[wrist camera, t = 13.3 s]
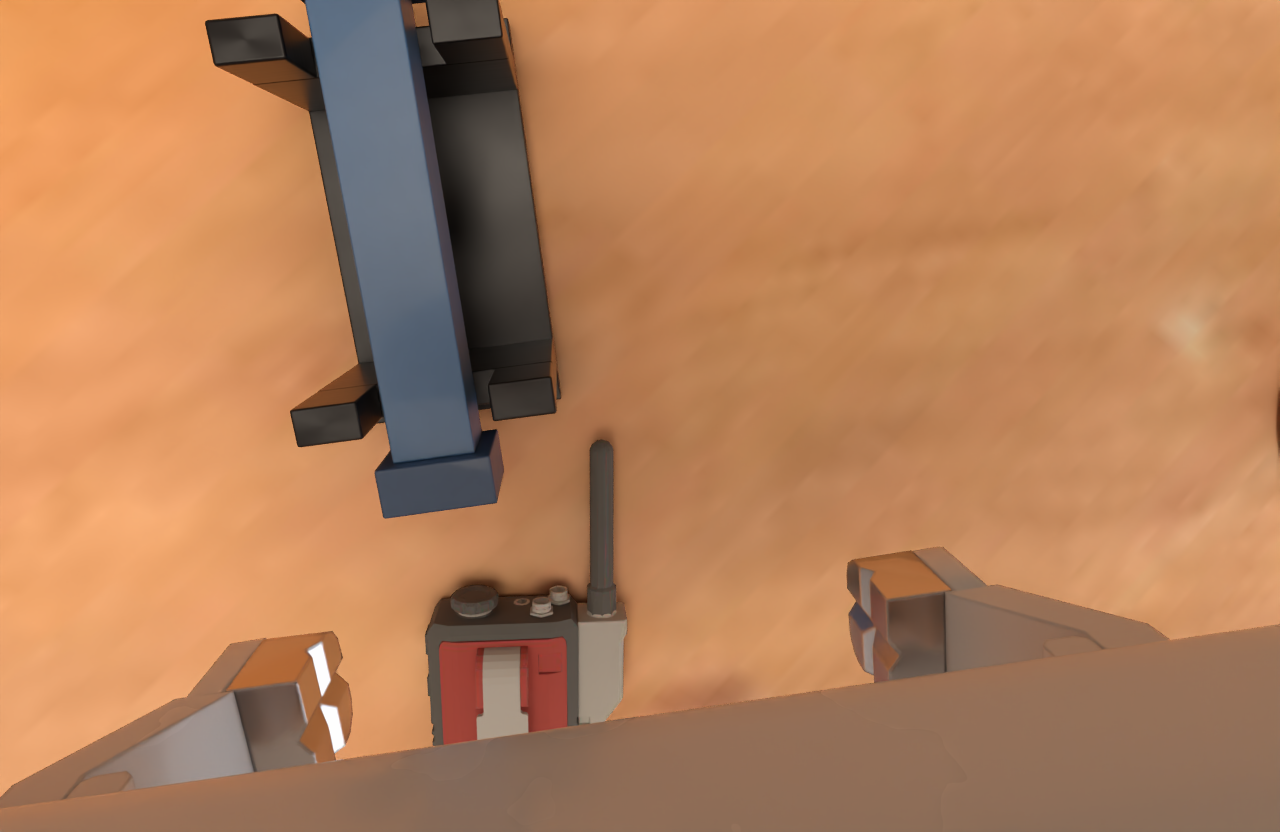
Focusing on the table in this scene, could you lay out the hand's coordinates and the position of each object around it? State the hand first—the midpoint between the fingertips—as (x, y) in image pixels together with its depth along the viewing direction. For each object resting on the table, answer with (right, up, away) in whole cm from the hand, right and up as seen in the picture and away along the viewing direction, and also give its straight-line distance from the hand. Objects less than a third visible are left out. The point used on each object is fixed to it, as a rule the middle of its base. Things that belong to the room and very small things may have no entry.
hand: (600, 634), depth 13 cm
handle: (-7, +10, +15) cm, 19 cm away
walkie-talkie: (-5, -7, +26) cm, 27 cm away
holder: (-8, +11, +21) cm, 25 cm away
